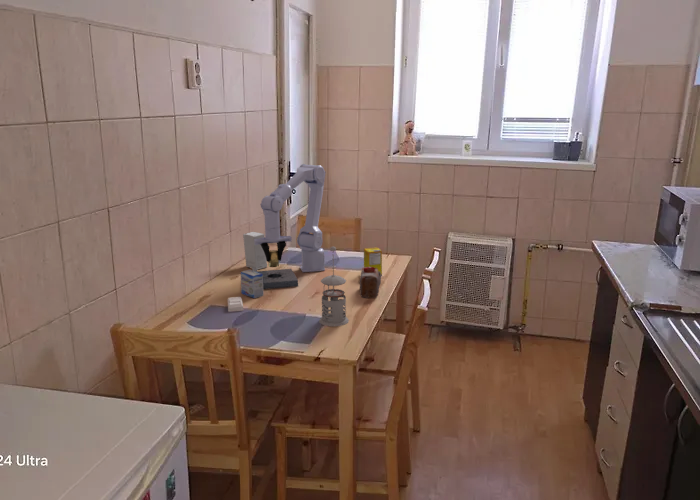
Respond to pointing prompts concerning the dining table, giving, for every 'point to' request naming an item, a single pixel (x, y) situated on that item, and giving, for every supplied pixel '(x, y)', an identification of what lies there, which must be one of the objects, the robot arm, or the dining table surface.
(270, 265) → the cylinder
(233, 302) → the soap bar
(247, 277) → the medicine box
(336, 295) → the french press
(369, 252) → the supplement box
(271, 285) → the jig
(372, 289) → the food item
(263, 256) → the skincare box
